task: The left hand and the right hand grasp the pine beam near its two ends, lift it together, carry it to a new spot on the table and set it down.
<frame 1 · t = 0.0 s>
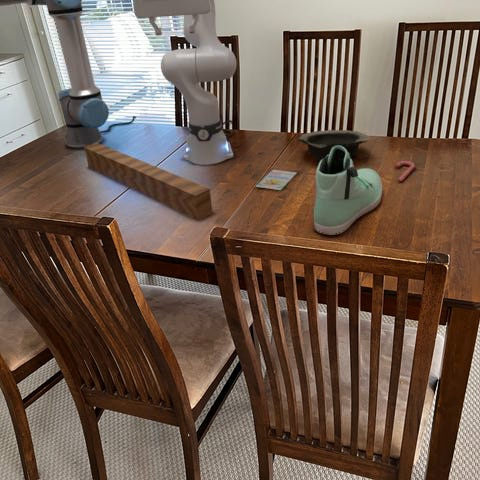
right hand: (176, 34, 129), 48 cm above the table, tool pointing down, fingers open, 8 cm apart
baking ingredient package: (276, 180, 159), on the table
candy cane: (402, 173, 157), on the table
stone bowl: (332, 156, 174), on the table
sneaker: (348, 208, 139), on the table
beam: (143, 187, 162), on the table
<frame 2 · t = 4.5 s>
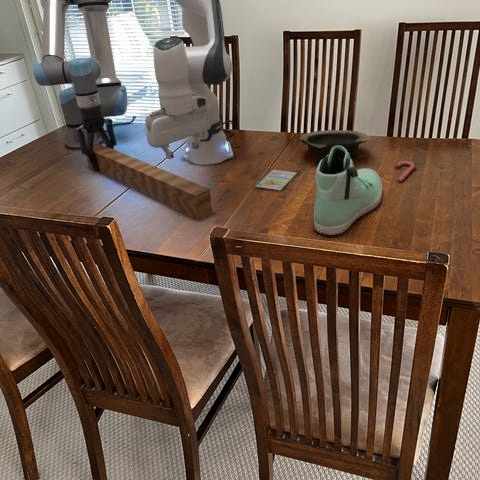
left hand: (104, 168, 178), 1 cm above the table, tool pointing down, fingers closed on beam, 6 cm apart
right hand: (183, 153, 136), 18 cm above the table, tool pointing down, fingers open, 8 cm apart
beam: (143, 187, 162), on the table, touching left hand
everything else where it was.
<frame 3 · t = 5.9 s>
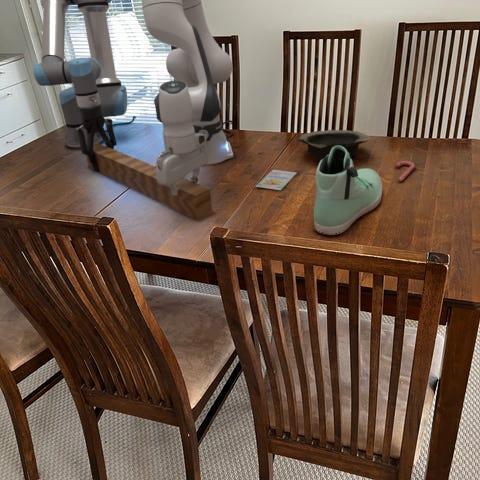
left hand: (104, 168, 178), 1 cm above the table, tool pointing down, fingers closed on beam, 6 cm apart
right hand: (185, 188, 141), 8 cm above the table, tool pointing down, fingers open, 8 cm apart
beam: (143, 187, 162), on the table, touching left hand, right hand
everything else where it was.
when the left hand's fingers open (2 cm above the table, at t = 15.5 s): beam stays where it is, held by the right hand.
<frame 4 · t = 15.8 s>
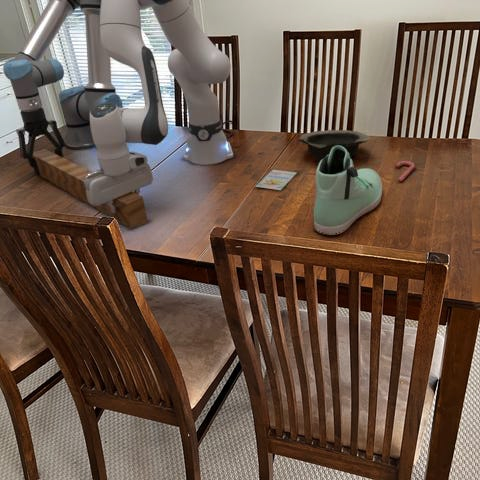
left hand: (49, 170, 175), 2 cm above the table, tool pointing down, fingers open, 8 cm apart
right hand: (125, 207, 141), 4 cm above the table, tool pointing down, fingers closed on beam, 6 cm apart
beam: (85, 194, 160), on the table, touching right hand
everything else where it was.
when the right hand's fingers open (4 cm above the table, at t = 15.8 s): beam stays where it is, on the table.
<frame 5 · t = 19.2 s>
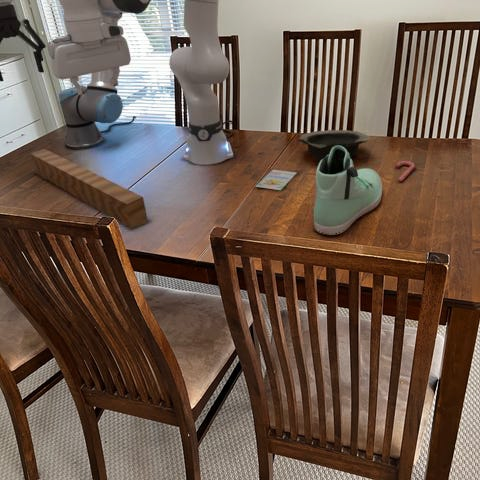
left hand: (21, 76, 157), 36 cm above the table, tool pointing down, fingers open, 13 cm apart
right hand: (98, 89, 123), 38 cm above the table, tool pointing down, fingers open, 8 cm apart
beam: (85, 194, 160), on the table
everything else where it was.
at the end: beam inside the target area (0.3 cm from its centre), on the table; beam tilted 0°; beam never tilted more than 1° during the clip; both hands held the beam at the same time; the left hand is holding nothing; the right hand is holding nothing; beam at rest at the end (0.0 cm/s) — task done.
